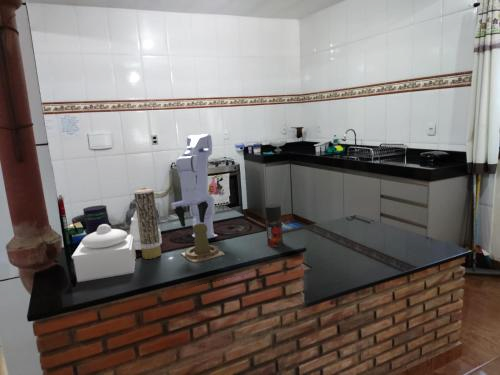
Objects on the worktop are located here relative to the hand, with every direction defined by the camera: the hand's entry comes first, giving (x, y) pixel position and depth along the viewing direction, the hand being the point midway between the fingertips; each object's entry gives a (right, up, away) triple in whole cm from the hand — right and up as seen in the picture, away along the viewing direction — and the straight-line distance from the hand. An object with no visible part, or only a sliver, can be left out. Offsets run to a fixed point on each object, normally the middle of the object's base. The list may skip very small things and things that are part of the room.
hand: (192, 224), depth 137 cm
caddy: (+4, -11, -3) cm, 12 cm away
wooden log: (-15, -12, -1) cm, 19 cm away
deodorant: (+31, -8, +2) cm, 32 cm away
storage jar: (-46, -10, +27) cm, 55 cm away
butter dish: (-28, -15, -10) cm, 33 cm away
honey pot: (-22, -10, +15) cm, 28 cm away
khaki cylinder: (+4, -11, -4) cm, 12 cm away
